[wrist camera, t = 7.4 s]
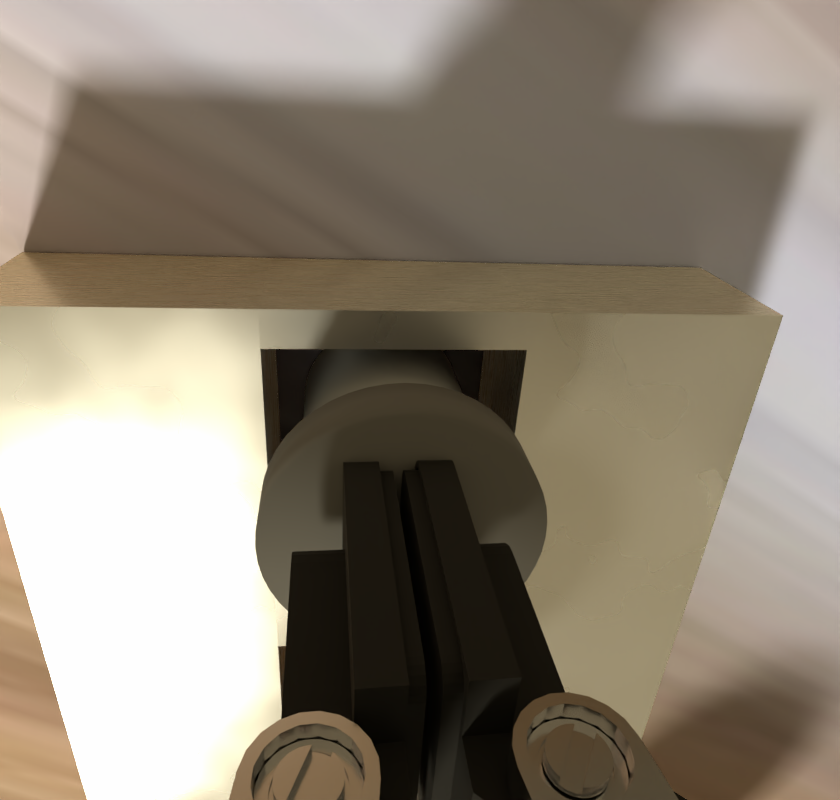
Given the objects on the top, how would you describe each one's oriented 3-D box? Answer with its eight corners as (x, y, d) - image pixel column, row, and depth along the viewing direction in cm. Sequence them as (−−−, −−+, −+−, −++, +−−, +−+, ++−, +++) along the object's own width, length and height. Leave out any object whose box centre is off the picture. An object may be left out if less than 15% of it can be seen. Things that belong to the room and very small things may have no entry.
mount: (700, 267, 14) (782, 315, 12) (559, 806, 24) (588, 899, 21) (22, 252, 13) (-59, 305, 10) (155, 844, 22) (132, 953, 19)
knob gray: (492, 298, 14) (569, 413, 10) (472, 478, 16) (527, 638, 12) (272, 295, 13) (245, 416, 9) (281, 482, 15) (263, 653, 11)
